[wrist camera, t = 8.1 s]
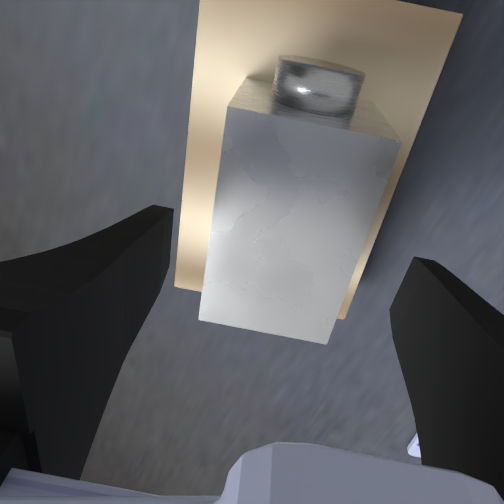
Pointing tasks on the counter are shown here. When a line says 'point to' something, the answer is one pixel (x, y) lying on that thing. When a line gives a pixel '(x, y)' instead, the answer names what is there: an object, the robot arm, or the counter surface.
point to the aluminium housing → (294, 198)
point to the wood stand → (313, 46)
